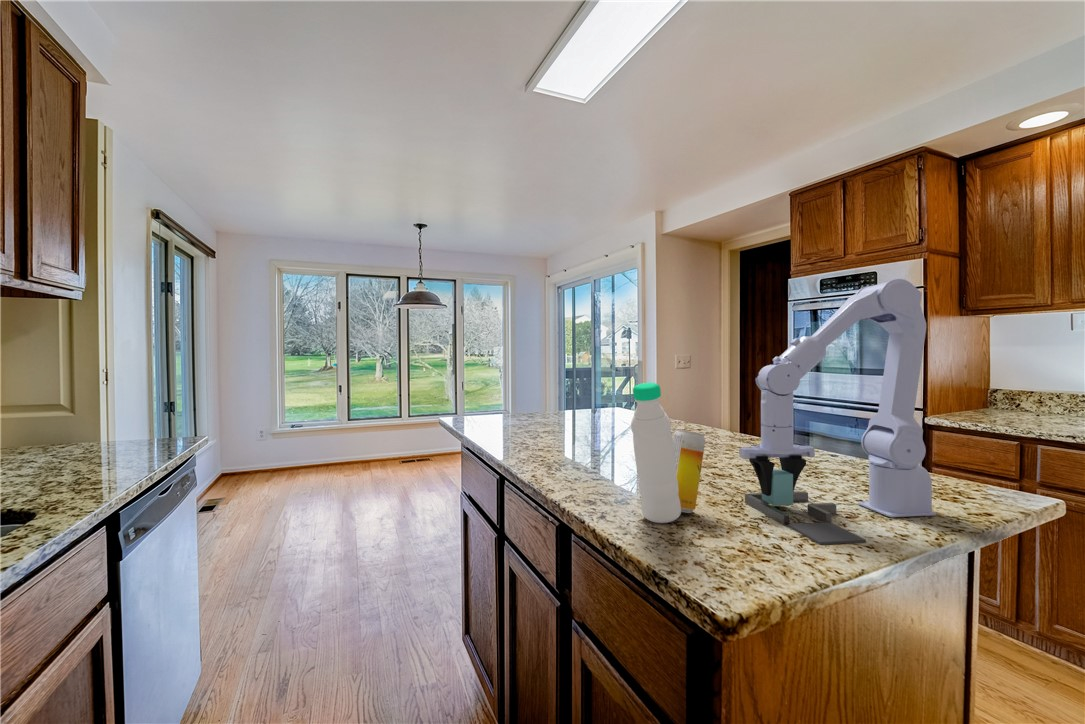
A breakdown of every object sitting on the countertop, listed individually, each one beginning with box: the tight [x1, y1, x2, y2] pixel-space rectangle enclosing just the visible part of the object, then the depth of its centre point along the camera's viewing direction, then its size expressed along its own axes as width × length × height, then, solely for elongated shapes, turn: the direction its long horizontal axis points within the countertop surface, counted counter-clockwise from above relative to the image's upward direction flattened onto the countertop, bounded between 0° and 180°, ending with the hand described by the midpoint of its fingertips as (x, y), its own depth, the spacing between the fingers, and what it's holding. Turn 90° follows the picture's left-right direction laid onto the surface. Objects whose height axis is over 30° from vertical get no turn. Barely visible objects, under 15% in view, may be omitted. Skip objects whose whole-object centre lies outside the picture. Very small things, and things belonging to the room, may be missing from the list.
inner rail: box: [806, 502, 837, 523], centre depth 85 cm, size 6×6×2 cm
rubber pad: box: [787, 521, 867, 545], centre depth 78 cm, size 8×8×1 cm
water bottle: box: [630, 382, 682, 524], centre depth 83 cm, size 7×7×25 cm
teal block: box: [761, 468, 794, 507], centre depth 91 cm, size 4×4×6 cm
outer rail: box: [744, 491, 809, 527], centre depth 89 cm, size 14×14×2 cm
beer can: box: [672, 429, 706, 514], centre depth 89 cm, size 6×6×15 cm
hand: (777, 493), depth 91 cm, fingers closed on teal block, 4 cm apart
